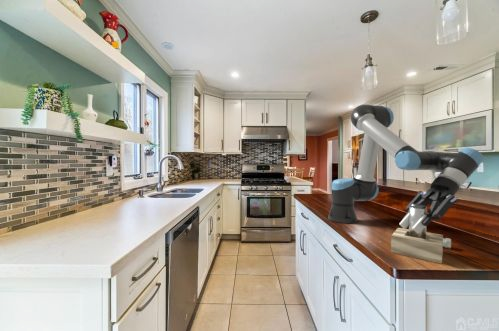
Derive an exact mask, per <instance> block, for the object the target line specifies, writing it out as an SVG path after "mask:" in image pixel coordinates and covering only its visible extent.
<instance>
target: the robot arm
mask: <svg viewBox="0 0 499 331" xmlns="http://www.w3.org/2000/svg"><path fill="white" fill-rule="evenodd" d="M394 119H395V118H394V113H393V111H392V109H391V108H389V107H387V106H384V105H376V104H375V105H374V104H360V105H358V106H356V107H355V108H353V110H352V112H351V113H350V121H351V123H352V125H353V126H354V127H355V129H357V130H358V131H361V132H363V133H364V135H363V141H362V146H361V152H360V157H359V162H358V167H357V174H355V175H354V176H353V178H349V177H348V178H337V179H334V180H332V183H331V206H330V210H329V213H328V217H327V218H328V220H329V221H330V222H335V223H342V224H354V223H357V222H358V215H357V213H356V210H355V207H354V206H355V202H366V201H372V200H373V199H374V200H375V198H377V196H378V194H379V190H380V189H379V185H378V183H377V182H376V181H377V179H376V178H375V171H376V166H377V161H378V156H379V153H380V152H379V151H380V147H381V148H382V149H384V150H385V152H387V153H388V154H389V155H390V156H391V157H392V158H394V163H395V165H396V167H397V168H398V169H400V170H405V171H440V173H439V174H438V175H437V177H436V178H435V179H434V180H433V181H432V182H431V183H430V188H429V189H427V190H426V191H422V190H419V191H418V192H417V195H416V196H415V197H414V198H413V199H412V200H411V201H410V202H409V203H408V204H407V206H406V207H405V210H406V211H407V213H406V214H405V215H404V216H403V218H402V220H401V221H400V222H399V226H400V227H401V228H402V229H407V228H409V204H423V205H426V207H427V206H428V205H430V207H429V209H428V210H427V211H426V213H425V214H426V215H423V216H422V217H421V218H420V219H419V220H418V222H417V223H416V224H415V225H414V226H413V227H412V229H413V230H414V231H415V232H416V233H418V234H419V233H420V232H421V231H422V229H423V228H424V227H425V226H426V227H427V226H428V225H429V224H430V223H431V222H432V221H434V220H437V221H440V220H441V219H442V218H443V217H444V215H445V214H446V213H447V212H448V211H449V209H451V207H452V206H453V205H454V204H456V203H458V202H459V201H458V198H457V197H456V196H455V194H457V193H458V191H459V190H460V188H461V187H462V186H463V185H464V184H465V182H467V180H468V179H469V177H471V175H473V173H474V172H475V171H476V170H477V169H478V168H479V167H480V165H481V164H482V163H483V161H484V156H483V153H481V152H480V151H479V150H477V149H474V148H472V147H471V148H470V147H465V148H461V149H460V150H459V151H457V153H454V152H453V153H452V152H443V151H442V152H439V151H432V150H431V151H429V150H427V151H426V150H425V151H424V150H423V151H419V150H417V149H415V148H414V147H413V146H411V145H410V144H409V143H407V142H406V141H405V140H404V139H402V138H400V137H399V136H398V135H397V134H396V133H395V132H393V131H392V130H390V129H389V128H390V126H391V125H392V124H393V122H394Z"/></svg>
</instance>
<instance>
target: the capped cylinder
mask: <svg viewBox="0 0 499 331" xmlns="http://www.w3.org/2000/svg"><path fill="white" fill-rule="evenodd" d="M408 205H409V225H408V229H409V236H410V237H415V238H421V239H426V232H427V226H425V227H424V228H423V229H422V231H421V232H420V233H419V234H418V233H416V232H415V231H414V230H413V229H412V227H413V226H414V225H415V224H416V223H417V222H418V220H419V219H420V218H421V217H422V216H423V215H426V214H427V206H426V205H423V204H409V203H408ZM425 213H426V214H425ZM426 216H427V215H426Z"/></svg>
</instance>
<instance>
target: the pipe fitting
mask: <svg viewBox="0 0 499 331" xmlns="http://www.w3.org/2000/svg"><path fill="white" fill-rule="evenodd" d="M443 248H445V249H449V250H451V249H452V239H451V238H447V237H445V238H444V237H443Z"/></svg>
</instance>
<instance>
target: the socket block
mask: <svg viewBox="0 0 499 331" xmlns="http://www.w3.org/2000/svg"><path fill="white" fill-rule="evenodd" d="M390 238H391V240H390V243H391V244H390V253H392V254H398V255H401V256H407V257H411V258H415V259H419V260H424V261H428V262H433V263H436V264H443V254H444V253H443V252H444V247H443V238H444V234H439V233H432V232H429V231H428V232H427V231H426V239H421V238H415V237H410V236H409V228H408V229H407V228H406V229H403V228H402V227H397V228H396V230H394V232H393V233H392V234H391V236H390Z"/></svg>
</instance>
